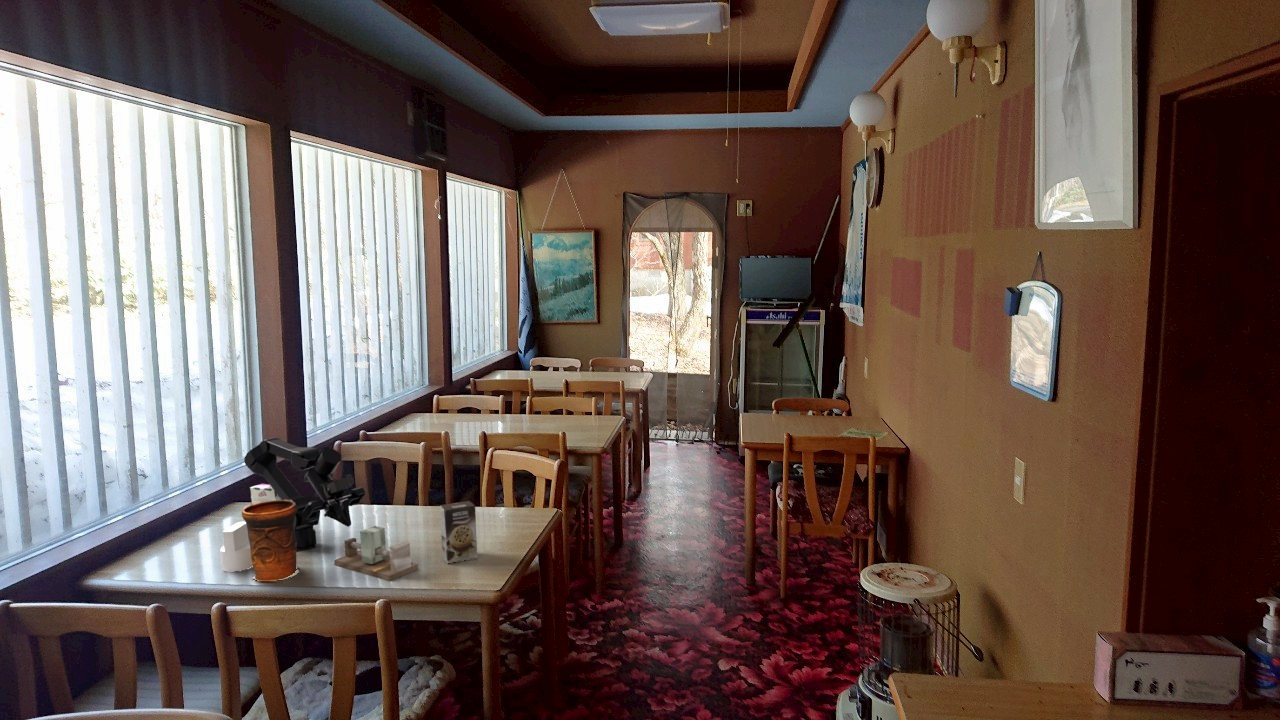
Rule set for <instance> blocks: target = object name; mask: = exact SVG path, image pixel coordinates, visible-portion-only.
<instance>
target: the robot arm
mask: <svg viewBox="0 0 1280 720" xmlns="http://www.w3.org/2000/svg"><path fill="white" fill-rule="evenodd" d="M277 457H279V458H281V459H284V460H286V461H289V462H290V463H291V466H292V467H293V468H294V469H296V470H297V471H305V470H308V469H309V470H308V471H307V472H305V473H304V478H303V482H304V483H307V482H309V483H310V484H311V486H312V488H313V490H314V491H315V492H314V494H313V495H314V496H315V497H316V498H317V497H319V499H315V500H314V499H313V497H312V496H311V495H308V494H307V495H304V496H302V495H301V494H300V493H299V492H298V490H297V489H296V488H295V486H294V485H293V484H292V483H291V481H290V480H288V478H287V477H286V476H285V474H284V473H283V472H282V470H281V469H280V468H279V467H278V465H277V463H278V458H277ZM341 461H342V454H341V453H340V452H339V451H338V450H336V449H335V448H330V446H329V445H326V446H322V447H321V448H320V450H319V448H317V447H311V446H310V447H308V446H306V447H299V446H297V445H294V444H291V443H289V442H287V441H284V440H281V439H280V438H279V437H271V438H266V439H263V440H262V441H260V443H258V445H256V446H255V447H253V448H252V449H250V450H249V451H248V452H247V453H246V455H245V456H244V460H243V462H244V464H245V465H246V467H247V468H248V469H249V471H251V472H252V473H254V474H255V475H259V476H261V477H263V478H264V480H265V481H266V482H267V483H268V484H269V485H270V486H271V487H272V488H273V489H274V491H275V492H276V493H277V494H278V496H279V497H280V498H281V500H290V501H293V502H295V503H296V505H297V513H296V515H295V520H294V530H295V537H296V541H297V551H302V549H303V550H309V549H314V548H316V544H317V534H316V533H317V532H316V529H315V528H314V526H318V525H319V521H320V516H321V511H322V510H324V512H325V513H324V515H323V516H324V518H326V517H328V518H330V519H332V520H335V521H336V522H338V523H340V524H342V525H344V526H346V527H347V528H349V527H350V526H351V525H352V521H351V514H350V507H353V506H357V505H358V504H360V503H361V502H362V501H363V499H364V497H366V494H367V490H366V489H365V488H364V487H361V486H359V487H354V488H353V489H350V488H352V485H353V484H355V480H354V477H353V476H352V474H351V473H348V474H345V475H344V476H342V478H339V479H335V478H334V479H333V478H332V476H331V475H332V474H333V473H334V472H335V470H336V469H337V467H338V466H339V464H340V463H341ZM347 489H350V491H348V494H346V492H347ZM344 494H346V495H344Z"/></svg>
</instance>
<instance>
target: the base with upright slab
mask: <svg viewBox="0 0 1280 720" xmlns="http://www.w3.org/2000/svg"><path fill="white" fill-rule="evenodd" d="M222 537H223V538H222V540H223V546H221V548H220V549H219V551H220V561H221V571H222V572H224V571H227V572H226V573H235V572H234V571H239V572H241V571H240V570H244V571H246V570H245V569H247V568H250V567H252V566H253V565H252V563H251V549H250V543H249V539H248V530H247V524H246V522H245V521H238V522H236V523H235V524H232V525H231V526H230V527H228V528H227V529H224V530H223V531H222ZM252 568H253V567H252ZM250 569H251V568H250ZM247 570H248V569H247Z"/></svg>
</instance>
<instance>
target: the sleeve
mask: <svg viewBox="0 0 1280 720" xmlns="http://www.w3.org/2000/svg"><path fill="white" fill-rule="evenodd" d="M359 539H360V544H361V549H360V550H361V554H362V562H365V563H368V564H373V563H376V562H378V561H381V560H383V559H386V558H387V557H386V556H383V555H379V554H376V553H375V548H380V549H383V550H387V546H386V545H387V544H386V543H387V542H386V530H385V528H384V527H381V526H377V525H374V526H371V527H368V528H366V529H362V530H360V531H359Z"/></svg>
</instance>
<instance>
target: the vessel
mask: <svg viewBox="0 0 1280 720" xmlns="http://www.w3.org/2000/svg"><path fill="white" fill-rule="evenodd" d="M296 513H297V505H296V503H295V502H293V501H290V500H274V501H268V502H260V503H256V504H249V505H247V506H245V507H244V508H243V509H242V510H241V517H242V519H243V521H244V522H246V524H247V530H248V539H249V543H250V549H251V563H252V565H253V567H252V568H253V571H254V572H253V574H254V573H255V574H254V575H256V576H255V580H257V581H256V582H277V581H276V580H279V579H284V578H286V577H288V576H290V575H292V574H293V573H295V571H296V570H297V569H296V567H297V553H298V550H297V541H296V537H295V530H294V520H295V515H296ZM255 580H254V581H255Z"/></svg>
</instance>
